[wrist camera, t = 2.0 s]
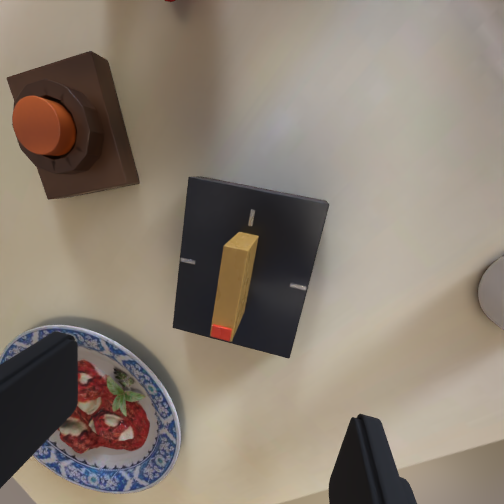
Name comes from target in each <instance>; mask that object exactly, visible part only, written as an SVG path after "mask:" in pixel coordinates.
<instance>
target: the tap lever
mask: <svg viewBox="0 0 504 504" xmlns="http://www.w3.org/2000/svg"><path fill="white" fill-rule="evenodd" d="M258 238H259V236H257V235H252V234H247V233H243V232H238V233H237V234H236V235H235V236H234V237H233V238H232V239H231V240H229V241H228V242H227V243H226V244H225V245H224V246H223V253H222V259H221V266H220V272H219V279H218V285H217V292H216V298H215V305H214V312H213V318H212V325H211V331H210V336H211V337H215V338H218V339H222V340H226V341H230V342H232V340H233V338H234V335H235V333H236V331H237V328H238V326H239V323H240V321H241V319H242V316H243V314H244V312H245V306H246V301H247V296H248V291H249V285H250V280H251V275H252V270H253V264H254V259H255V254H256V248H257V243H258Z"/></svg>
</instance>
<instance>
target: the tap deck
mask: <svg viewBox="0 0 504 504" xmlns="http://www.w3.org/2000/svg"><path fill="white" fill-rule="evenodd" d="M328 207H329V204H328V203H327V201H324V200H319V199H314V198H309V197H304V196H298V195H293V194H288V193H283V192H278V191H273V190H268V189H262V188H257V187H252V186H247V185H242V184H237V183H232V182H226V181H221V180H216V179H211V178H206V177H189V179H188V188H187V198H186V207H185V216H184V226H183V235H182V245H181V254H180V264H179V273H178V283H177V292H176V302H175V311H174V321H173V328H176V329H180V330H183V331H187V332H191V333H195V334H199V335H202V336H206V337H210V338H214V339H217V340H221V341H225V342H229V343H233V344H236V345H240V346H244V347H248V348H251V349H255V350H259V351H263V352H267V353H270V354H274V355H278V356H282V357H285V358H290V354H291V350H292V347H293V343H294V339H295V335H296V331H297V327H298V323H299V320H300V316H301V312H302V308H303V304H304V300H305V296H306V292H307V289H308V285H309V281H310V277H311V273H312V269H313V265H314V261H315V258H316V254H317V250H318V246H319V242H320V238H321V234H322V231H323V227H324V223H325V219H326V215H327V211H328ZM238 232H243V233H247V234H252V235H257V236H259V238H258V243H257V248H256V254H255V259H254V264H253V270H252V275H251V280H250V285H249V291H248V296H247V301H246V306H245V312H244V314H243V316H242V319H241V321H240V323H239V326H238V328H237V331H236V333H235V335H234V338H233V340H232V342H230V341H226V340H222V339H218V338H215V337H211V336H210V331H211V325H212V318H213V312H214V305H215V298H216V292H217V285H218V279H219V272H220V266H221V259H222V253H223V246H224V245H225V244H226V243H227V242H228V241H229V240H231V239H232V238H233V237H234V236H235V235H236V234H237V233H238Z"/></svg>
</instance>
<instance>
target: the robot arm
mask: <svg viewBox="0 0 504 504" xmlns="http://www.w3.org/2000/svg"><path fill="white" fill-rule="evenodd" d="M77 404H78V344H77V342H76V341H75V338H74V336H72V335H69V334H66V333H62V332H58V331H55V332H52V333H51V334H49V335H47V336H46V337H44V338H42V339H41V340H39V341H38V342H36V343H34V344H33V345H31V346H30V347H28V348H26V349H25V350H23V351H21V352H20V353H18V354H17V355H15V356H13V357H12V358H10V359H9V360H7V361H5V362H4V363H2V364H0V488H1V487H2V486H3V485H4V484H5V483H6V482H7V481H8V480H9V479H10V478H11V477H12V476H13V475H14V474H15V473H16V472H17V470H18V469H19V468H20V467H21V466H22V465H23V464H24V463H25V462H26V461H27V460H28V459H29V458H30V457H31V456H32V455H33V454H34V453H35V452H36V451H37V450H38V449H39V448H40V447H41V446H42V445H43V444H44V443H45V442H46V441H47V440H48V439H49V438H50V436H51V435H52V434H53V433H54V432H55V431H56V430H57V429H58V428H59V427H60V426H61V425H62V424H63V423H64V422H65V421H66V420H67V419H68V418H69V417H70V416H71V415H72V414H73V412H74V411H75V409H76V407H77ZM329 500H330V501H329V502H330V504H417V503H416V500H415V497H414V494H413V491H412V489H411V487H410V484H409V483H408V482H407V481H406V479H404V478H401V477H399V474H398V471H397V468H396V465H395V462H394V459H393V456H392V453H391V450H390V447H389V444H388V441H387V438H386V435H385V432H384V429H383V426H382V423H381V421H380V420H379V419H377V418H373V417H370V416H366V415H362V414H359V415H358V417H357V418H354V417H352V418H351V420H350V423H349V426H348V429H347V432H346V435H345V437H344V440H343V443H342V446H341V449H340V452H339V455H338V457H337V460H336V463H335V466H334V469H333V472H332V475H331V478H330V482H329Z"/></svg>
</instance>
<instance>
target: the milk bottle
mask: <svg viewBox="0 0 504 504" xmlns="http://www.w3.org/2000/svg"><path fill="white" fill-rule="evenodd" d="M478 298H479V302H480V305H481V308H482V310H483V311H484V313H485V314H486V315H487V317H488V318H490V319H491V320H492V321H493V322H494V323H495V324H497V325H498V326H499V327H500V328H502V329H503V330H504V256H502V257H500V258H499V259H498V260H496V261H495V262H494V263H493V264H492V265H491V266H490V267H489V268H488V269H487V270H486V272H485V273H484V274H483V276H482V278H481V281H480V283H479V288H478Z"/></svg>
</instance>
